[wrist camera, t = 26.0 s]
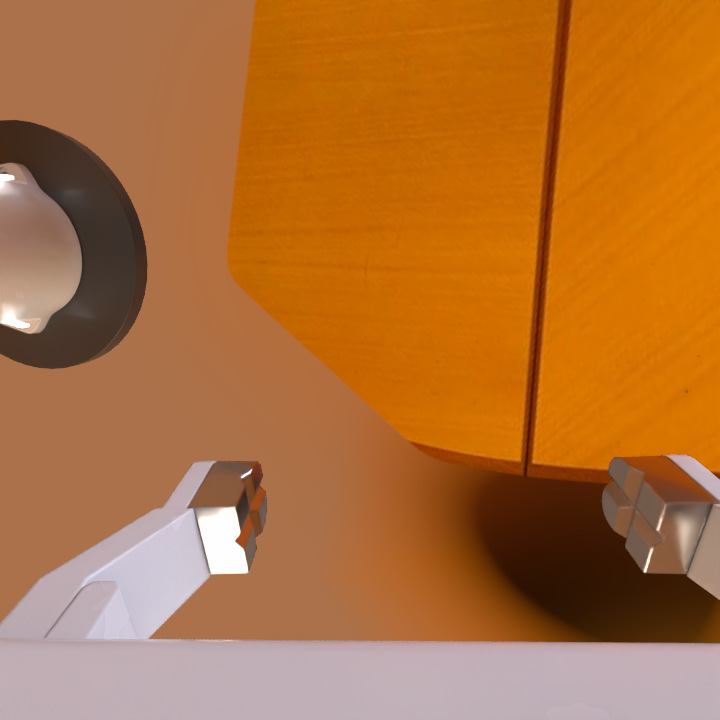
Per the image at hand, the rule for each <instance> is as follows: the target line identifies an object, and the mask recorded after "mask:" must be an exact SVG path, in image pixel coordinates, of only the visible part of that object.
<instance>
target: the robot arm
mask: <svg viewBox="0 0 720 720" xmlns="http://www.w3.org/2000/svg"><path fill="white" fill-rule="evenodd" d="M81 272H82V254H81V248H80V243H79V240H78V237H77V234H76V231H75V229H74V227H73V225H72V223H71V221H70V219H69V218H68V216H67V215H66V213H65V212H64V211H63V210H62V208H61V207H60V206H59V205H58V204H57V203H56V202H55V201H54V200H53V199H52V198H50V197H49V196H48V195H47V194H46V193H44V192H43V191H42V190H41V189H40V187H39V186H38V184H37V182H36V181H35V179H34V177H33V176H32V174H31V173H30V171H29V170H28V169H27V168H26V167H25V166H24V165H22V164H18V163H5V164H0V324H2V325H5V326H8V327H11V328H14V329H16V330H19V331H22V332H25V333H28V334H33V333H40V332H41V331H42V330H43V329H44V328H45V326H46V324H47V322H48V321H49V319H50V317H51V316H52V315H53V314H54V313H55V312H57V311H58V310H60V309H61V308H63V307H64V306H65V305H66V304H67V303H68V302H69V301H70V300H71V298H72V297H73V296H74V294H75V292H76V290H77V288H78V285H79V282H80V278H81ZM608 473H609V475H610V476H611V478H612V479H613V480H612V481H611V482H610V483H609V484H608V485H607V486H606V487H605V488H604V491H603V497H602V504H603V511H604V514H605V516H606V519H607V521H608V523H609V524H610V526H611V527H612V529H613V530H614V531H615V532H617V533H619V534H620V535H622V536H623V537H625V538H627V539H626V545H625V547H626V549H627V550H628V551H629V553H630V554H631V556H632V557H633V559H634V560H635V561H636V562H637V564H638V565H639V567H640V568H641V570H642V571H643V572H644V573H666V574H688V575H687V576H688V577H689V578H690V579H692V580H693V581H695V582H696V583H697V584H699V585H700V586H702V587H703V588H704V589H705V590H707V591H708V592H710V593H711V594H712V595H714V596H715V597H716V598H718V599H719V600H720V480H719V479H718V478H717V477H716V476H714V475H713V474H712V473H711V472H710V471H708V470H707V469H706V468H705V467H704V466H702V465H701V464H700V463H699V462H697V461H696V460H695V459H694V458H693V457H690V456H687V455H685V454H681V455H661V456H639V457H614V458H613V459H612V461H611V462H610V465H609V469H608ZM262 477H263V473H262V469H261V464H259V462H258V461H217V462H216V461H197V462H195V463H193V464H192V465H191V466H190V468H189V469H188V471H187V472H186V474H185V475H184V477H183V478H182V480H181V481H180V482H179V484H178V485H177V487H176V488H175V490H174V491H173V493H172V494H171V496H170V497H169V499H168V500H167V502H166V503H165V505H164V506H163V507H162V509H154V510H152V511H150V512H149V513H147V514H145V515H144V516H142V517H141V518H139V519H137V520H136V521H134V522H132V523H131V524H129V525H127V526H126V527H124V528H122V529H121V530H119V531H118V532H116V533H114V534H113V535H111V536H109V537H107V538H106V539H104V540H103V541H101V542H99V543H98V544H96V545H94V546H93V547H91V548H89V549H88V550H86V551H84V552H83V553H81V554H79V555H78V556H76V557H75V558H73V559H71V560H70V561H68V562H66V563H65V564H63V565H61V566H60V567H58V568H56V569H55V570H53V571H52V572H50V573H48V574H46V575H45V576H43V577H41V578H40V579H38V581H37V582H36V583H35V584H34V585H33V586H32V587H31V589H30V590H29V591H28V592H27V593H26V594H25V595H24V597H23V598H22V599H21V600H20V601H19V602H18V603H17V605H16V606H15V607H14V608H13V609H12V610H11V612H10V613H9V614H8V615H7V616H6V617H5V618H4V620H3V621H2V622H1V623H0V720H720V643H600V642H599V643H598V642H597V643H596V642H588V643H587V642H464V641H462V642H460V641H453V642H452V641H315V640H313V641H312V640H307V641H305V640H178V639H177V640H176V639H175V640H174V639H173V640H172V639H171V640H170V639H148V638H149V637H150V636H151V635H152V634H153V633H154V632H155V631H156V630H157V629H158V628H159V627H160V626H161V625H162V624H163V623H164V622H165V621H166V620H167V619H168V618H169V617H170V616H171V615H172V614H173V613H174V612H175V611H176V610H177V609H178V608H179V607H180V606H181V605H182V604H183V603H184V602H185V601H186V600H187V599H188V598H189V597H190V596H191V595H192V594H193V593H194V592H195V591H196V590H197V589H198V588H199V587H200V586H201V585H202V584H203V583H204V582H205V581H206V580H207V579H208V578H209V577H210V574H233V573H234V574H235V573H249V570H250V567H251V564H252V561H253V558H254V555H255V552H256V549H257V545H256V539H255V538H256V537H257V536H258V535H259V534H261V533H262V531H263V528H264V525H265V521H266V513H267V498H266V491H265V490H264V489H263V488H262V487H261V486H260V483H261V480H262Z"/></svg>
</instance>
